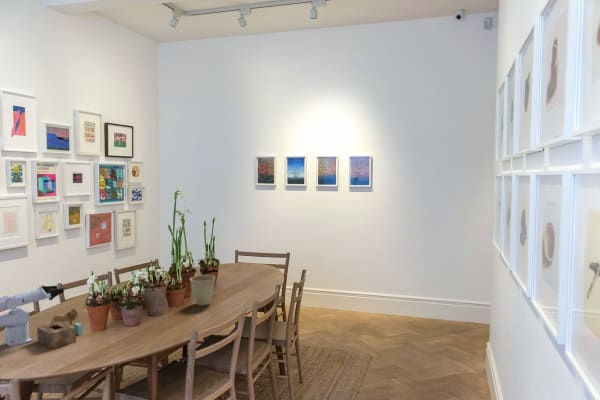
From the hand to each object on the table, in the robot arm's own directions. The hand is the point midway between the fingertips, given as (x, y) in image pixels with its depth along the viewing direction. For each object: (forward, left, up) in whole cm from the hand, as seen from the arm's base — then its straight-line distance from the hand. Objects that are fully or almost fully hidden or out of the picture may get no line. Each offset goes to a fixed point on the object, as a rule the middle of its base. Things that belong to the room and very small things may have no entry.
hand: (60, 288), depth 225 cm
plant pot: (+73, -22, -22) cm, 79 cm away
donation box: (-8, -14, -22) cm, 27 cm away
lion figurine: (+4, +5, -22) cm, 23 cm away
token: (+3, -12, -22) cm, 25 cm away
